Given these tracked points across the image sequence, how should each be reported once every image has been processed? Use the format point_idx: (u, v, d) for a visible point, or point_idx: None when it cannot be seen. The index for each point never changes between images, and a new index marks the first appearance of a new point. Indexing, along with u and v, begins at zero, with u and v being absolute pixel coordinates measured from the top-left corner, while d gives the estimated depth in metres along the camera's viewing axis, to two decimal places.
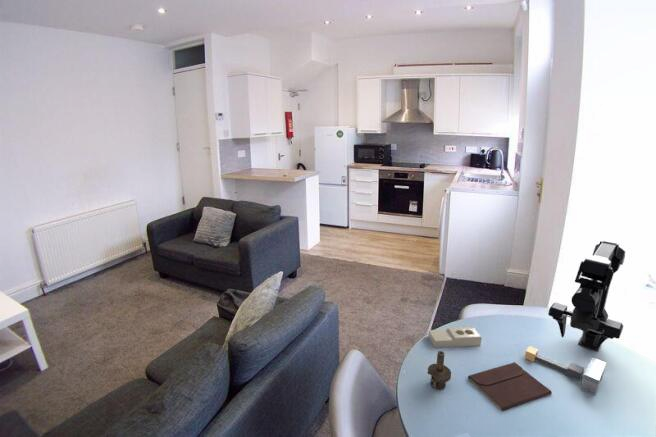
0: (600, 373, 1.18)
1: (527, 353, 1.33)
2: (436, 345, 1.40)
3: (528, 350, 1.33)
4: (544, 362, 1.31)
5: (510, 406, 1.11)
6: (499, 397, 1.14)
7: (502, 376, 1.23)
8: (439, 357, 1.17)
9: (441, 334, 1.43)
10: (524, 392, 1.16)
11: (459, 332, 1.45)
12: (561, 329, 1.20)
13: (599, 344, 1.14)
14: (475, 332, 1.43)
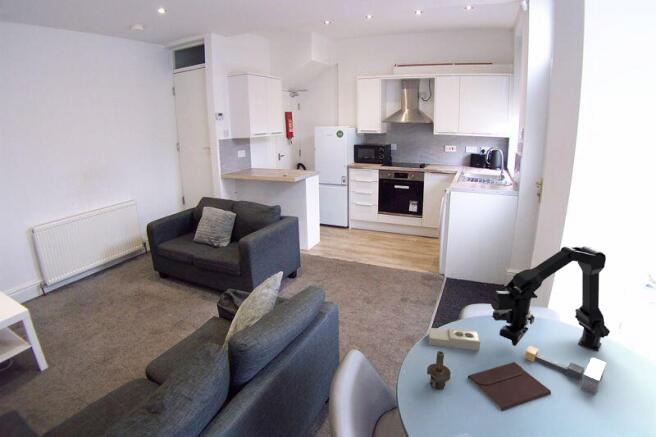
0: (600, 373, 1.18)
1: (527, 353, 1.33)
2: (431, 342, 1.41)
3: (528, 350, 1.33)
4: (544, 362, 1.31)
5: (510, 406, 1.11)
6: (499, 397, 1.14)
7: (502, 376, 1.23)
8: (438, 357, 1.17)
9: (439, 333, 1.44)
10: (524, 392, 1.16)
11: (459, 334, 1.43)
12: None
13: None
14: (476, 336, 1.40)
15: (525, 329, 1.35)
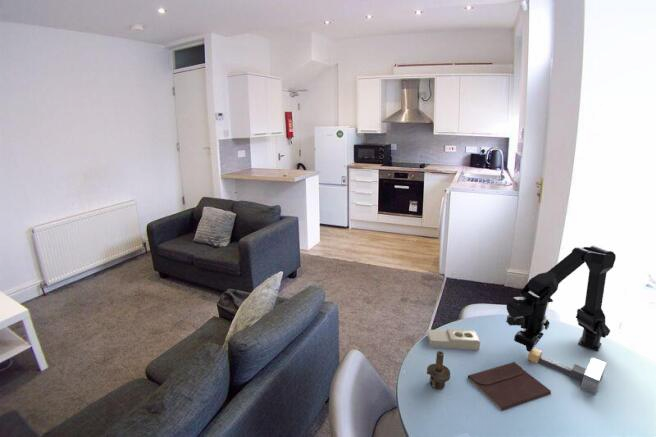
0: (600, 373, 1.18)
1: (531, 354, 1.32)
2: (432, 344, 1.40)
3: (532, 351, 1.33)
4: (548, 364, 1.30)
5: (510, 406, 1.11)
6: (499, 397, 1.14)
7: (502, 376, 1.23)
8: (438, 357, 1.17)
9: (439, 334, 1.43)
10: (524, 392, 1.16)
11: (458, 334, 1.43)
12: None
13: None
14: (475, 335, 1.41)
15: (540, 335, 1.32)
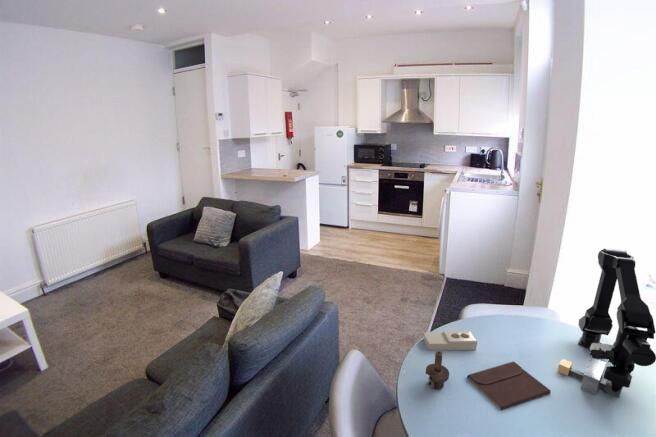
0: (600, 373, 1.18)
1: (560, 366, 1.26)
2: (430, 348, 1.38)
3: (561, 363, 1.27)
4: (579, 376, 1.24)
5: (509, 405, 1.12)
6: (498, 396, 1.14)
7: (501, 375, 1.23)
8: (437, 357, 1.17)
9: (436, 337, 1.41)
10: (523, 391, 1.16)
11: (455, 335, 1.42)
12: None
13: None
14: (471, 336, 1.41)
15: None
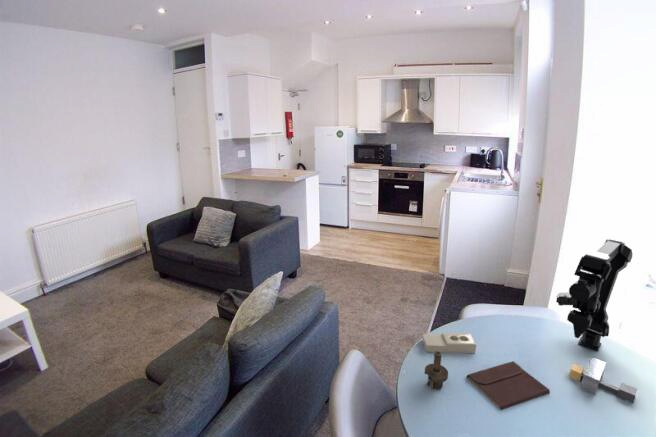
0: (600, 373, 1.18)
1: (572, 372, 1.24)
2: (428, 350, 1.37)
3: (573, 368, 1.24)
4: None
5: (509, 405, 1.12)
6: (498, 396, 1.15)
7: (501, 375, 1.23)
8: (436, 357, 1.17)
9: (434, 339, 1.40)
10: (523, 391, 1.17)
11: (454, 338, 1.41)
12: None
13: (574, 330, 1.25)
14: (471, 338, 1.39)
15: (595, 310, 1.29)
